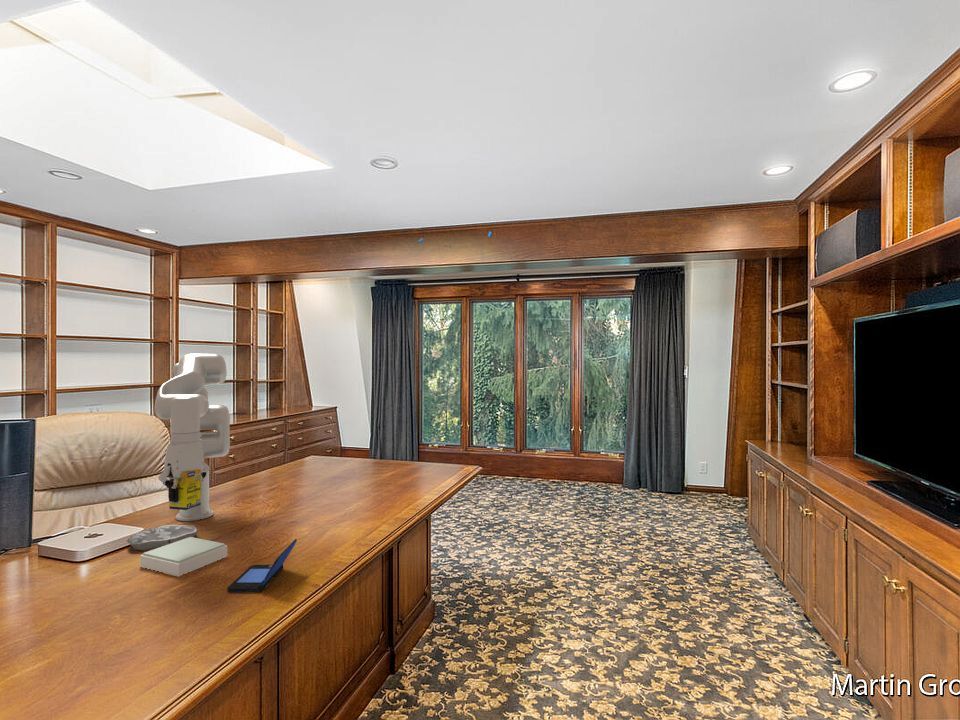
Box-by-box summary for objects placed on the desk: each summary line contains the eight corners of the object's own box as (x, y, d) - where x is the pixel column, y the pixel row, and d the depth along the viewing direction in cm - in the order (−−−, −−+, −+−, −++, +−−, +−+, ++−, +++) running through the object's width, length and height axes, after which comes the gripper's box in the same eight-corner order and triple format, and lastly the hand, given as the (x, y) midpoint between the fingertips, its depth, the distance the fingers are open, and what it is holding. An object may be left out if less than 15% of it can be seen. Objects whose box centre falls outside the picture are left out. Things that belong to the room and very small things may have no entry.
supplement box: (186, 510, 150) (186, 472, 150) (168, 509, 151) (168, 471, 151) (201, 504, 156) (201, 468, 156) (184, 503, 157) (184, 467, 157)
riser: (140, 567, 149) (140, 553, 149) (190, 548, 164) (190, 536, 164) (178, 576, 143) (178, 562, 143) (227, 556, 157) (227, 543, 157)
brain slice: (187, 529, 184) (187, 520, 184) (202, 541, 171) (202, 532, 171) (120, 542, 170) (120, 533, 170) (132, 556, 158) (132, 547, 158)
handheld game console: (251, 569, 149) (251, 537, 149) (298, 569, 149) (298, 537, 149) (225, 594, 133) (225, 558, 133) (277, 594, 133) (277, 558, 133)
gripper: (202, 433, 163) (202, 490, 163) (148, 441, 147) (147, 504, 147) (219, 435, 160) (219, 493, 160) (166, 443, 144) (165, 507, 144)
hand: (185, 497), depth 153 cm, fingers closed on supplement box, 6 cm apart
